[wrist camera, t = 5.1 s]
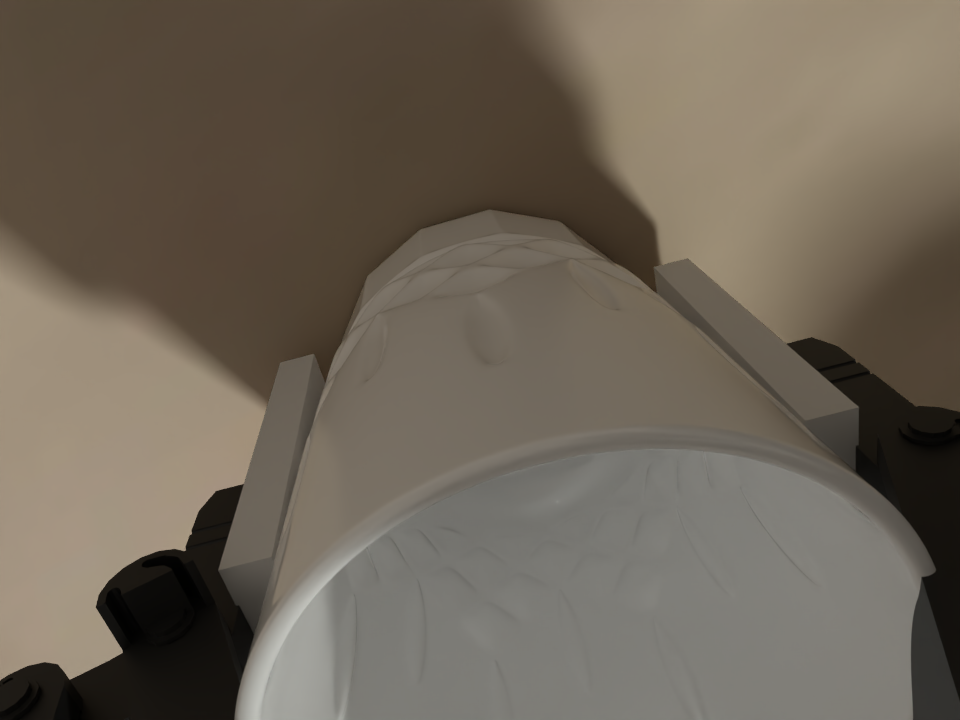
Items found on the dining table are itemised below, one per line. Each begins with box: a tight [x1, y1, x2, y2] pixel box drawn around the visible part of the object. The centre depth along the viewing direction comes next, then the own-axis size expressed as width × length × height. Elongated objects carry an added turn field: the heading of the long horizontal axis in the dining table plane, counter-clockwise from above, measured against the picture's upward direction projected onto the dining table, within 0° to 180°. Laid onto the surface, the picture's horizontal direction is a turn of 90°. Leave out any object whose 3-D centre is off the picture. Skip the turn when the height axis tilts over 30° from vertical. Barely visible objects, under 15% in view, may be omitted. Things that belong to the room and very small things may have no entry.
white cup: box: [234, 210, 936, 720], centre depth 13 cm, size 8×8×10 cm
